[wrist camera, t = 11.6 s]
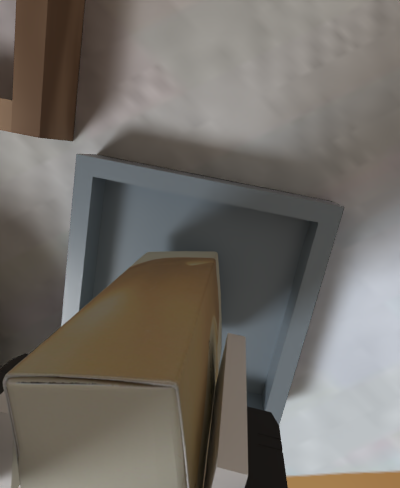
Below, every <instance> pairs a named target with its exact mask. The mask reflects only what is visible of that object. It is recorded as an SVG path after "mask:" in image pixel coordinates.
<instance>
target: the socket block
mask: <svg viewBox="0 0 400 488" xmlns="http://www.w3.org/2000/svg"><path fill="white" fill-rule="evenodd" d="M84 6H85V0H16V21H15V46H14V71H13V96H12V100H8V99H3V98H0V130H3V131H8V132H13V133H18V134H23V135H28V136H33V137H39V138H47V139H57V140H67V141H73V134H74V123H75V111H76V99H77V88H78V76H79V64H80V53H81V41H82V30H83V18H84Z"/></svg>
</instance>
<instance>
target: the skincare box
mask: <svg viewBox="0 0 400 488" xmlns="http://www.w3.org/2000/svg"><path fill="white" fill-rule="evenodd" d="M221 348H222V314H221V290H220V276H219V262H218V253H217V252H214V251H163V252H147V253H145V254H144V255H143V256H142V257H141V258H140V259H138V260H137V261H136V262H135V263H134V264H133V265H132V266H130V267H129V268H128V269H127V270H126V271H125V272H123V273H122V274H121V275H120V276H119V277H118V278H117V279H115V280H114V281H113V282H112V283H111V284H110V285H109V286H107V287H106V288H105V289H104V290H103V291H102V292H100V293H99V294H98V295H97V296H96V297H95V298H94V299H92V300H91V301H90V302H89V303H88V304H87V305H85V306H84V307H83V308H82V309H81V310H80V311H79V312H77V313H76V314H75V315H74V316H73V317H72V318H70V319H69V320H68V321H67V322H66V323H65V324H64V325H62V326H61V327H60V328H59V329H58V330H57V331H56V332H54V333H53V334H52V335H51V336H50V337H49V338H48V339H46V340H45V341H44V342H42V343H41V344H40V345H39V346H38V347H37V348H36V349H35V350H34V351H32V352H31V353H30V354H29V355H28V356H27V357H25V358H24V359H23V360H22V361H21V362H19V363H18V364H17V365H16V366H15V367H14V368H13V369H12V370H10V371H9V372H8V373H7V374H6V375H5V377H4V379H3V389H4V393H5V397H6V402H7V408H8V414H9V418H10V423H11V428H12V435H13V440H14V444H15V449H16V456H17V463H18V473H19V481H20V486H21V488H203V487H204V479H205V470H206V462H207V453H208V445H209V436H210V428H211V419H212V410H213V402H214V393H215V386H216V382H217V377H218V372H219V365H220V357H221Z"/></svg>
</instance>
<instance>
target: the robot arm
mask: <svg viewBox="0 0 400 488" xmlns="http://www.w3.org/2000/svg"><path fill="white" fill-rule="evenodd" d="M28 355H29V354H23V355H21V356H19V357H17V358H15V359H13V360H10V361H9V362H8V363H7V364H6V365H5V366H4V367H2V368H1V369H0V488H18V487H19V485H20V481H19V473H18V463H17V456H16V449H15V444H14V440H13V435H12V428H11V423H10V418H9V414H8V408H7V402H6V397H5V393H4V389H3V379H4V377H5V375H6V374H7V373H8V372H9V371H10V370H12V369H13V368H14V367H15V366H16V365H17V364H18V363H19V362H21V361H22V360H23V359H24V358H25V357H27V356H28ZM203 488H288V487H287V481H286V473H285V465H284V458H283V453H282V444H281V437H280V429H279V425H278V423H277V421H276V419H275V418H274V416H273V414H272V413H271V412H268V411H264V410H260V409H256V408H252V407H248V406H247V388H246V338H245V337H244V336H240V335H235V334H231V333H228V334H227V338H226V343H225V347H224V351H223V356H222V360H221V364H220V369H219V373H218V377H217V382H216V386H215V393H214V402H213V410H212V419H211V428H210V436H209V445H208V453H207V462H206V470H205V479H204V487H203Z"/></svg>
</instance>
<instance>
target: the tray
mask: <svg viewBox="0 0 400 488" xmlns="http://www.w3.org/2000/svg"><path fill="white" fill-rule="evenodd" d="M343 210H344V207H343V206H340V205H338V204H336V203H334V202H332V201H328V200H322V199H317V198H312V197H307V196H302V195H297V194H292V193H287V192H282V191H277V190H272V189H267V188H262V187H257V186H252V185H247V184H242V183H237V182H232V181H227V180H222V179H217V178H212V177H207V176H202V175H197V174H192V173H187V172H182V171H177V170H172V169H167V168H162V167H157V166H152V165H147V164H141V163H136V162H131V161H126V160H121V159H116V158H111V157H106V156H101V155H96V154H76V166H75V177H74V188H73V199H72V210H71V222H70V233H69V244H68V255H67V266H66V277H65V289H64V300H63V311H62V322H61V326H62V325H64V324H65V323H66V322H67V321H68V320H69V319H70V318H72V317H73V316H74V315H75V314H76V313H77V312H79V311H80V310H81V309H82V308H83V307H84V306H85V305H87V304H88V303H89V302H90V301H91V300H92V299H94V298H95V297H96V296H97V295H98V294H99V293H100V292H102V291H103V290H104V289H105V288H106V287H107V286H109V285H110V284H111V283H112V282H113V281H114V280H115V279H117V278H118V277H119V276H120V275H121V274H122V273H123V272H125V271H126V270H127V269H128V268H129V267H130V266H132V265H133V264H134V263H135V262H136V261H137V260H138V259H140V258H141V257H142V256H143V255H144V254H145V253H147V252H163V251H214V252H217V253H218V262H219V276H220V290H221V314H222V348H221V357H220V364H221V360H222V356H223V351H224V347H225V343H226V338H227V334H228V333H231V334H235V335H240V336H244V337H245V338H246V388H247V406H248V407H252V408H256V409H260V410H264V411H268V412H271V413H272V414H273V416H274V418H275V419H276V421H277V423H278V425H279V423H280V420H281V417H282V413H283V410H284V407H285V403H286V400H287V397H288V393H289V390H290V387H291V383H292V380H293V377H294V373H295V370H296V367H297V363H298V360H299V357H300V353H301V350H302V347H303V343H304V340H305V337H306V333H307V330H308V327H309V323H310V320H311V317H312V313H313V310H314V307H315V303H316V300H317V297H318V293H319V290H320V287H321V283H322V280H323V277H324V273H325V270H326V267H327V263H328V260H329V257H330V253H331V250H332V247H333V243H334V240H335V237H336V233H337V230H338V227H339V223H340V220H341V217H342V213H343ZM219 369H220V365H219ZM218 373H219V372H218Z"/></svg>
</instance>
